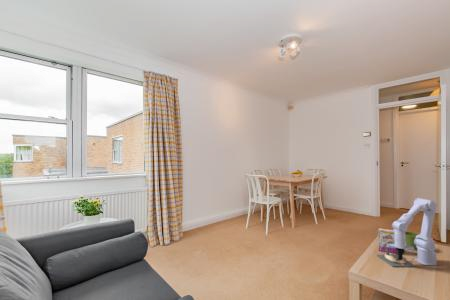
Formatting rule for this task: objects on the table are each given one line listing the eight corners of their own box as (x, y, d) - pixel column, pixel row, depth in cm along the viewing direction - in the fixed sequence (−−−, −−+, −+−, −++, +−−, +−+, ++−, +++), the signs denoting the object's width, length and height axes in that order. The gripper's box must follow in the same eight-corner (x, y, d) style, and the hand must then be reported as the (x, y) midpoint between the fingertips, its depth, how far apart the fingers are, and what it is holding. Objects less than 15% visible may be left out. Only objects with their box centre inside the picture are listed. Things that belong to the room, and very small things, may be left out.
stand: (397, 255, 156) (397, 254, 156) (415, 267, 141) (415, 265, 141) (377, 255, 156) (377, 254, 156) (392, 267, 141) (392, 265, 141)
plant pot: (407, 250, 164) (407, 236, 164) (399, 244, 175) (399, 230, 175) (426, 252, 161) (426, 238, 161) (417, 245, 172) (417, 232, 172)
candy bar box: (378, 250, 164) (378, 229, 164) (378, 248, 168) (378, 227, 168) (397, 254, 158) (397, 232, 158) (396, 251, 162) (396, 230, 162)
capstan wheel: (402, 256, 152) (402, 249, 152) (409, 265, 141) (409, 257, 141) (382, 253, 157) (382, 246, 157) (387, 261, 146) (387, 253, 146)
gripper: (410, 238, 145) (410, 258, 145) (385, 235, 151) (385, 254, 151) (415, 242, 139) (415, 263, 139) (388, 239, 144) (388, 259, 144)
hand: (400, 259), depth 144 cm, fingers closed, pressing on capstan wheel
